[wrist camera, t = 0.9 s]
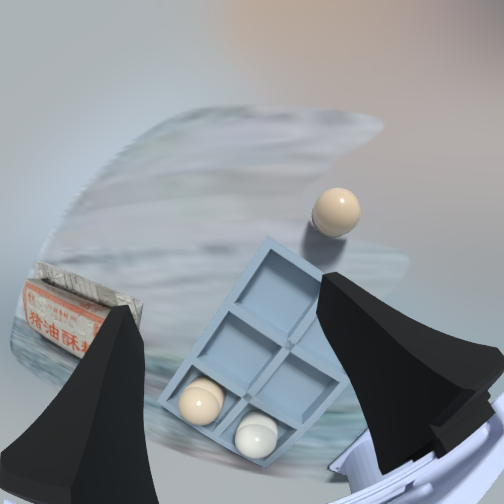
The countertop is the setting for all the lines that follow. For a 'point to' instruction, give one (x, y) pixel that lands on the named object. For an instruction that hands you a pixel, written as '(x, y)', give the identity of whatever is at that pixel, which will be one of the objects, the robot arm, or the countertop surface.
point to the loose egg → (336, 212)
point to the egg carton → (265, 352)
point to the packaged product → (70, 307)
